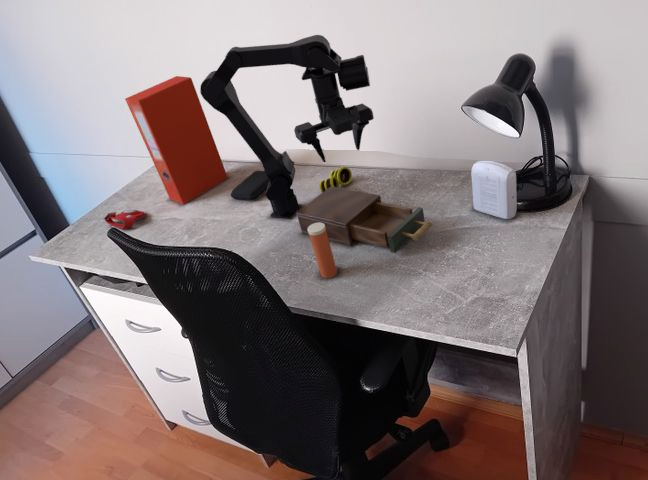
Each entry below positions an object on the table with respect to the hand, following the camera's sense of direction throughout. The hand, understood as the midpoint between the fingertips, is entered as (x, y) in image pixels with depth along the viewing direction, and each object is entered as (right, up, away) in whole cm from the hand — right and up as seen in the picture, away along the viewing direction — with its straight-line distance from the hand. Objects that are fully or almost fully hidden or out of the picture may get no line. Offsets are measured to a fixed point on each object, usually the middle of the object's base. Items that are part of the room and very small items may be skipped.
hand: (341, 155), depth 135 cm
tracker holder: (-64, -14, +26) cm, 70 cm away
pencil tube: (-2, -29, -17) cm, 34 cm away
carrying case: (-25, -5, +25) cm, 36 cm away
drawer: (+12, -20, -11) cm, 26 cm away
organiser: (0, -18, -2) cm, 18 cm away
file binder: (-45, -3, +34) cm, 57 cm away
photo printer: (+36, -15, -11) cm, 40 cm away
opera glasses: (-1, -6, +16) cm, 17 cm away
